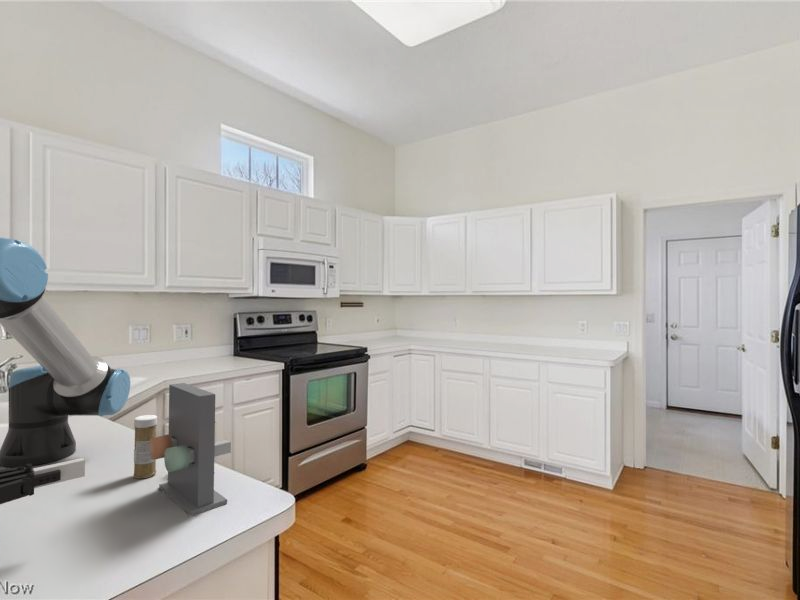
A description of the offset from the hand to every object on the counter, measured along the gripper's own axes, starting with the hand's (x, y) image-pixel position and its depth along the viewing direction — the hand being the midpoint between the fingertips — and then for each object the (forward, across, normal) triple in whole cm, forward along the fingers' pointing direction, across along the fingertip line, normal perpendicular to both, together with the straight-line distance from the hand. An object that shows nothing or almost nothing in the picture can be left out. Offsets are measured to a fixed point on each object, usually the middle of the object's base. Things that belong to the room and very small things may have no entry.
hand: (83, 467), depth 73 cm
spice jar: (+16, -21, -12) cm, 29 cm away
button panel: (+19, -3, -12) cm, 22 cm away
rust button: (+19, -8, -4) cm, 21 cm away
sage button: (+19, +1, -4) cm, 19 cm away
